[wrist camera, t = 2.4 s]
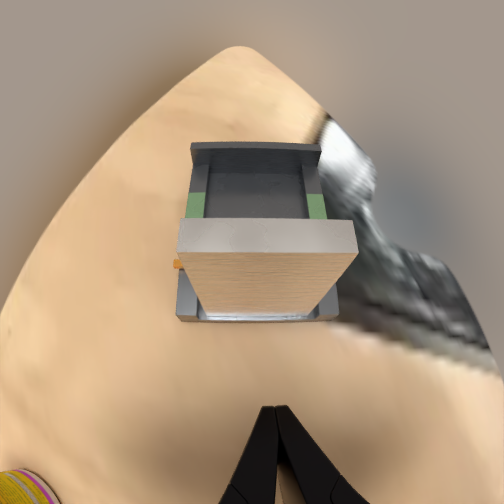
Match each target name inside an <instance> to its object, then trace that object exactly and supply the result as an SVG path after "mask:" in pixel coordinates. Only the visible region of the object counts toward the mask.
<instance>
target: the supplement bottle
mask: <svg viewBox="0 0 504 504" xmlns="http://www.w3.org/2000/svg"><path fill="white" fill-rule="evenodd" d="M0 504H60V503H59V501H58V500H57V498H56V496H55V495H54V493H53V492H52V491H51V489H50V488H49V487H48V486H47V485H46V484H45V483H44V482H43V481H42V480H41V479H40V478H39V477H37V476H36V475H34V474H33V473H31V472H29V471H27V470H23V469H16V470H10V471H5V472H0Z"/></svg>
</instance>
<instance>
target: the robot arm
mask: <svg viewBox="0 0 504 504" xmlns="http://www.w3.org/2000/svg"><path fill="white" fill-rule="evenodd" d="M277 474H278V479H279V484H280V489H281V493H282V498H283V503H284V504H370V503H369V502H367V501H366V500H365V499H364V498H363V497H362V496H361V495H360V494H359V493H358V492H357V491H356V490H355V489H354V488H353V487H352V486H351V485H350V484H349V483H348V482H347V480H346V479H345V478H344V477H343V476H342V475H340V472H339V471H338V470H337V469H336V467H335V466H334V465H333V464H332V462H331V461H330V460H329V459H328V458H327V456H326V455H325V454H324V453H323V451H322V450H321V449H320V448H319V446H318V445H317V444H316V442H315V441H314V440H313V439H312V437H311V436H310V435H309V433H308V432H307V431H306V430H305V428H304V427H303V426H302V424H301V423H300V422H299V420H298V419H297V418H296V416H295V415H294V414H293V412H292V411H291V410H290V408H289V407H288V406H287V405H277V406H275V407H274V406H262V408H261V410H260V412H259V415H258V417H257V420H256V422H255V425H254V427H253V430H252V432H251V434H250V437H249V439H248V441H247V444H246V446H245V448H244V451H243V453H242V455H241V458H240V460H239V462H238V464H237V467H236V469H235V471H234V473H233V475H232V478H231V480H230V482H229V483H230V484H228V486H227V488H226V490H225V492H224V494H223V496H222V498H221V500H220V502H219V503H218V504H275V492H276V478H277Z"/></svg>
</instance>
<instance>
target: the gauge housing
mask: <svg viewBox="0 0 504 504" xmlns="http://www.w3.org/2000/svg"><path fill="white" fill-rule="evenodd" d="M190 151H191V156H192V161H193V169H192V175H191V182H190V188H189V194H188V201H187V208H186V215H185V218H285V219H326V220H327V216H326V210H325V205H324V199H323V194H322V190H321V184H320V179H319V174H318V169H317V165H318V162H319V159H320V155H321V152H322V151H321V147H320V145H314V144H299V143H279V142H196V143H191V147H190ZM337 315H339V307H338V298H337V289H336V282H335V283H334V285H333V286H332V287H331V288H330V290H329V291H328V292H327V293H326V294H325V296H324V297H323V298H322V299H321V300H320V302H319V303H318V304H317V305H316V306H315V307H314V309H313V310H312V311H311V312H310V313H309V314H308V316H269V317H228V316H207V315H206V313H205V311H204V309H203V307H202V305H201V303H200V301H199V299H198V297H197V295H196V293H195V291H194V288H193V286H192V284H191V282H190V280H189V278H188V276H187V274H186V272H185V270H184V269H179V279H178V290H177V303H176V316H177V317H178V318H179V319H180V320H181V321H183V322H214V323H282V322H314V321H331V320H332V319H334V318H335V317H336V316H337Z"/></svg>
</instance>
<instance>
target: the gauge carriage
mask: <svg viewBox="0 0 504 504" xmlns="http://www.w3.org/2000/svg"><path fill="white" fill-rule="evenodd" d="M176 252H177V255H178V257H179V259H180V260H174V264H173V267H174V268H177V269H184V270H185V272H186V274H187V276H188V278H189V280H190V282H191V284H192V286H193V288H194V291H195V293H196V295H197V297H198V299H199V301H200V303H201V305H202V307H203V309H204V311H205V313H206V315H207V316H228V317H269V316H308V314H309V313H310V312H311V311H312V310H313V309H314V307H315V306H316V305H317V304H318V303H319V302H320V300H321V299H322V298H323V297H324V296H325V294H326V293H327V292H328V291H329V290H330V288H331V287H332V286H333V285H334V283H335V282H336V281H337V280H338V278H339V277H340V276H341V275H342V273H343V272H344V271H345V270H346V268H347V267H348V266H349V265H350V263H351V262H352V261H353V260H354V258H355V257H356V256H357V254H358V253H359V252H358V247H357V241H356V236H355V231H354V226H353V222H352V220H326V219H285V218H181V220H180V227H179V235H178V243H177V251H176Z"/></svg>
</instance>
